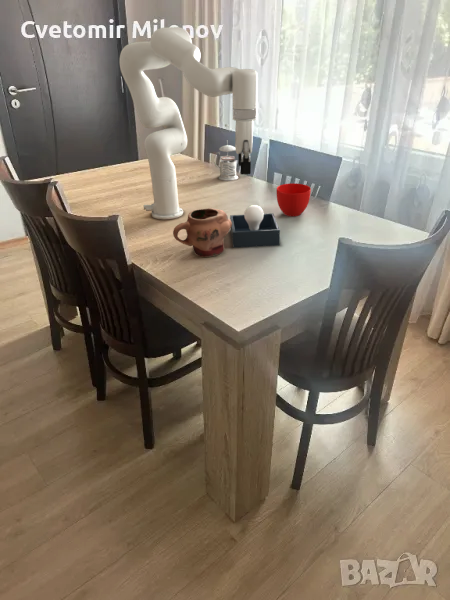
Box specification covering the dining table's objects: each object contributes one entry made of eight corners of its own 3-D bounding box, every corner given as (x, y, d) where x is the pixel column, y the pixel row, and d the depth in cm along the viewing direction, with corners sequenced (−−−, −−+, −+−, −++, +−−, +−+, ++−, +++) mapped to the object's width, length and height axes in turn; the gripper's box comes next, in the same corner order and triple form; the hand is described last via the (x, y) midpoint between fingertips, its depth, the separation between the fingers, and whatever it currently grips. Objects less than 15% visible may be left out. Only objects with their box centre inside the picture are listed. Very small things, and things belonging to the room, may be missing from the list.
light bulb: (243, 232, 158) (243, 202, 152) (261, 231, 158) (262, 201, 152) (245, 240, 152) (245, 209, 146) (264, 238, 152) (265, 208, 147)
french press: (238, 180, 214) (237, 125, 201) (214, 180, 214) (211, 126, 201) (238, 174, 222) (237, 121, 209) (215, 175, 223) (212, 122, 209)
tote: (233, 247, 148) (232, 232, 146) (230, 229, 162) (230, 215, 159) (279, 245, 149) (280, 230, 146) (273, 227, 162) (273, 213, 159)
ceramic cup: (313, 205, 180) (315, 181, 175) (305, 220, 167) (307, 195, 161) (282, 203, 184) (283, 179, 179) (272, 217, 170) (272, 192, 165)
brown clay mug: (186, 268, 137) (182, 226, 130) (168, 254, 146) (164, 214, 138) (240, 252, 146) (239, 211, 138) (220, 239, 155) (219, 201, 147)
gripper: (231, 109, 144) (231, 162, 153) (234, 119, 130) (234, 177, 139) (254, 109, 144) (253, 162, 154) (259, 119, 130) (258, 177, 139)
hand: (244, 169), depth 146 cm, fingers open, 9 cm apart
